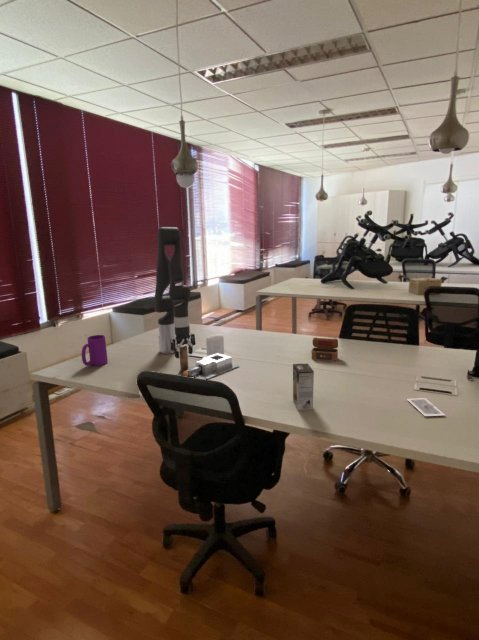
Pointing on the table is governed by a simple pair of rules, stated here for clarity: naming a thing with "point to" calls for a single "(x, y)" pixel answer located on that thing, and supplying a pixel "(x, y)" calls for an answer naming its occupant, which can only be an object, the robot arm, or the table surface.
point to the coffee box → (303, 386)
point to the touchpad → (425, 407)
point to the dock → (213, 366)
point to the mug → (95, 351)
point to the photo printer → (215, 344)
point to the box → (325, 349)
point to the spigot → (183, 357)
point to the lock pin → (192, 371)
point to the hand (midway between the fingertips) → (184, 355)
